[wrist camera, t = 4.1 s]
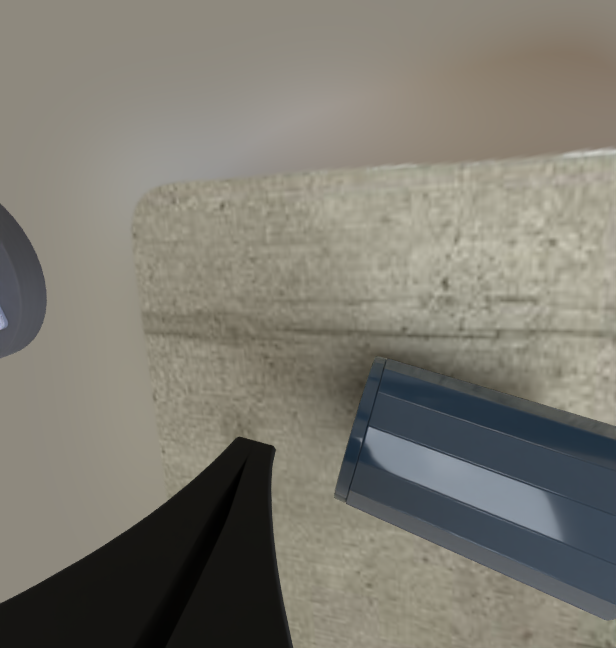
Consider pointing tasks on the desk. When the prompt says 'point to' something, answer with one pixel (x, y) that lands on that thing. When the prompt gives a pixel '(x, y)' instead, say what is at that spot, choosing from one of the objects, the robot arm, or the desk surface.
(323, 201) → the desk surface
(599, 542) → the tumbler
